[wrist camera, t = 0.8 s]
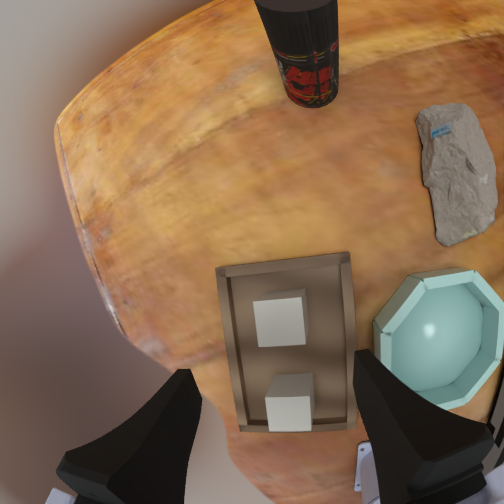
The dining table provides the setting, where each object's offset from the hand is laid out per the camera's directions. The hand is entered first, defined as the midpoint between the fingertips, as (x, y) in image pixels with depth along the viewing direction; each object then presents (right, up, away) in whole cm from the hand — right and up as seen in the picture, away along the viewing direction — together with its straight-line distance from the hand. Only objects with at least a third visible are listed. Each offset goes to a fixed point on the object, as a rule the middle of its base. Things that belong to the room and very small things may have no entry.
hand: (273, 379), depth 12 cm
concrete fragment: (+20, +13, +13) cm, 27 cm away
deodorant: (+6, +24, +16) cm, 29 cm away
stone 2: (+4, -9, +16) cm, 19 cm away
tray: (+3, -5, +17) cm, 18 cm away
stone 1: (+3, 0, +17) cm, 17 cm away
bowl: (+18, -3, +13) cm, 23 cm away
